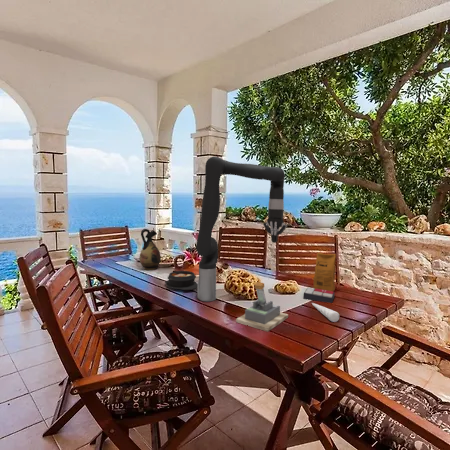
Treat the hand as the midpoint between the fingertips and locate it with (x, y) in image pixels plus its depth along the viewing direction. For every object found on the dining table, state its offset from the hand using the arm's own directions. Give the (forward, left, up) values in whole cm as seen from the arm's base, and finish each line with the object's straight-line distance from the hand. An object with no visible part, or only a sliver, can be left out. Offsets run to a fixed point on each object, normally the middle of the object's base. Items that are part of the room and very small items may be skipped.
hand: (274, 242), depth 164 cm
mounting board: (+6, -21, -32) cm, 39 cm away
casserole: (-58, -8, -33) cm, 67 cm away
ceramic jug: (-109, +10, -33) cm, 114 cm away
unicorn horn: (+25, +4, -33) cm, 41 cm away
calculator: (+15, +24, -33) cm, 44 cm away
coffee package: (+12, +40, -33) cm, 53 cm away
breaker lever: (+6, -21, -25) cm, 33 cm away
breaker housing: (+6, -21, -31) cm, 38 cm away
